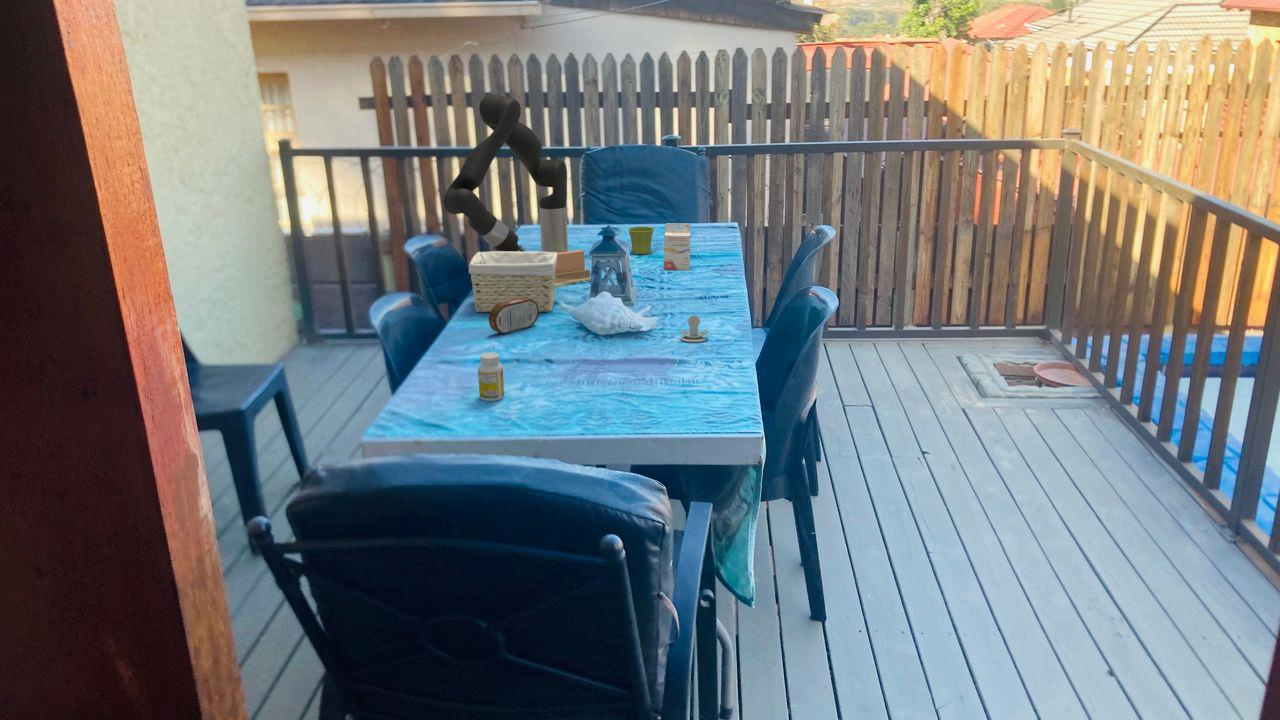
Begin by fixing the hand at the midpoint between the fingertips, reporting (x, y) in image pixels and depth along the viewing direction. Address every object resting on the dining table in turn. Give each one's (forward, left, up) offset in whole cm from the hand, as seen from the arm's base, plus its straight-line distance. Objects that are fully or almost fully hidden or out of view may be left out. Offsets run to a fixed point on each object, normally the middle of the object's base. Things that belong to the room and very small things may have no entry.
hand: (538, 270), depth 299 cm
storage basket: (+20, -16, -5) cm, 26 cm away
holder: (0, +8, -4) cm, 9 cm away
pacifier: (+72, +11, -5) cm, 73 cm away
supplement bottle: (+84, -48, -5) cm, 97 cm away
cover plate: (0, +8, -4) cm, 9 cm away
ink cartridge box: (+5, +47, -5) cm, 48 cm away
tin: (+41, -25, -5) cm, 48 cm away
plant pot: (-21, +48, -5) cm, 53 cm away
